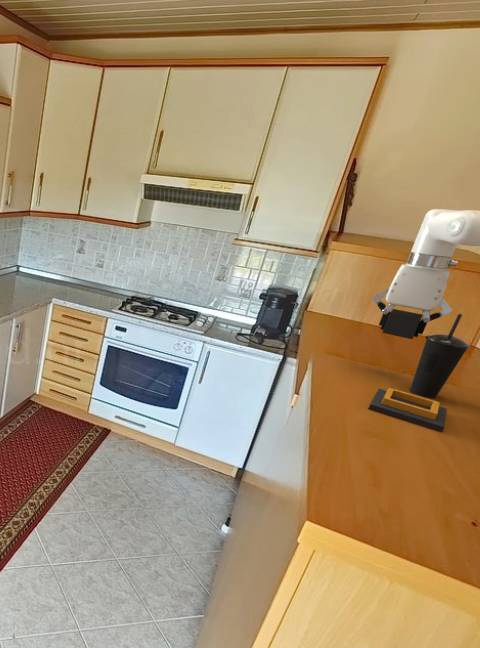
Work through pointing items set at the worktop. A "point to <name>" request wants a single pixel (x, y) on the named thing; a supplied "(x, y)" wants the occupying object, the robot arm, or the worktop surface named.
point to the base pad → (410, 408)
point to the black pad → (402, 323)
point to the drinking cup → (437, 362)
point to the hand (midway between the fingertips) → (399, 331)
